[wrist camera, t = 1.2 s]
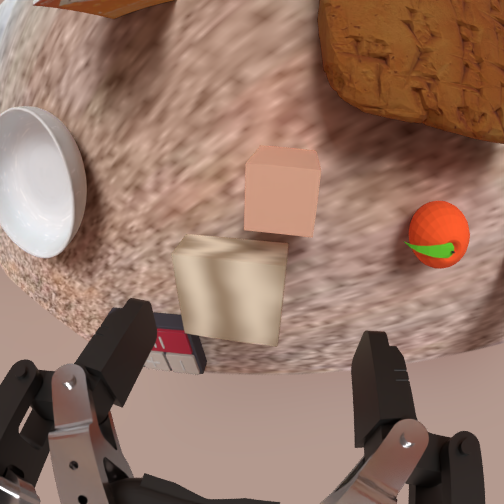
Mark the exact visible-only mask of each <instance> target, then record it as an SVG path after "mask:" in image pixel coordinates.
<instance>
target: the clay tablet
mask: <svg viewBox="0 0 504 504" xmlns="http://www.w3.org/2000/svg"><path fill="white" fill-rule="evenodd" d="M317 20H318V28H319V38H320V43H321V52H322V61H323V68H324V71H325V72H326V75H327V79H328V81H329V84H330V86H331V87H332V88H333V90H335V91H337V93H338V95H339V97H341V98H342V99H343V100H344V101H346V102H347V103H349V104H350V105H352V106H355V107H357V108H359V109H360V110H361V111H362V112H365V113H369V114H373V115H377V116H382V117H386V118H392V119H396V120H401V121H405V122H410V123H412V122H415V123H424V124H425V125H427V126H431V127H434V128H437V129H441V130H443V131H448V132H452V133H456V134H459V135H463V136H466V137H470V138H474V139H479V140H483V141H488V142H495V143H501V144H504V0H319V11H318V19H317Z"/></svg>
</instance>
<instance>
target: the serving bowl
mask: <svg viewBox="0 0 504 504" xmlns="http://www.w3.org/2000/svg"><path fill="white" fill-rule="evenodd" d="M86 197H87V184H86V175H85V169H84V164H83V160H82V157H81V154H80V151H79V149H78V146H77V144H76V142H75V140H74V138H73V136H72V135H71V133H70V132H69V130H68V129H67V127H66V126H65V125H64V124H63V123H62V122H61V121H60V120H59V119H58V118H57V117H56V116H54V115H53V114H51V113H50V112H48V111H46V110H43V109H41V108H37V107H31V106H21V107H13V108H10V109H8V110H6V111H4V112H3V113H2V114H0V225H1V226H2V228H3V230H4V231H5V232H6V234H7V235H8V236H9V237H10V239H11V240H12V241H13V242H14V243H15V244H16V245H17V246H19V247H20V248H21V249H22V250H24V251H25V252H27V253H29V254H31V255H33V256H35V257H39V258H51V257H55V256H57V255H59V254H60V253H61V252H62V251H63V250H64V249H65V248H66V247H67V246H68V244H69V243H70V242H71V241H72V239H73V238H74V236H75V235H76V233H77V231H78V229H79V227H80V225H81V222H82V219H83V216H84V211H85V206H86Z"/></svg>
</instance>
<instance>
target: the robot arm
mask: <svg viewBox="0 0 504 504" xmlns="http://www.w3.org/2000/svg"><path fill="white" fill-rule="evenodd" d="M156 339H157V326H156V322H155V318H154V314H153V310H152V306H151V303H150V302H149V301H144V300H139V299H135V298H130V299H129V300H128V301H127V303H126V304H125V305H124V307H123V308H122V309H119V308H118V309H116V310H115V311H114V312H112V313H111V314H109V315H108V316H107V317H106V319H105V320H104V322H103V323H102V324H101V327H99V329H98V330H97V331H96V334H95V335H94V336H93V337H92V338H91V340H90V341H89V343H88V344H87V346H86V347H85V349H84V350H83V352H82V353H81V355H80V356H79V357H78V359H77V360H76V362H75V363H74V364H66V365H63V366H61V367H60V368H58V369H57V370H56V371H44V370H38V369H37V367H36V366H35V365H34V363H33V362H32V361H30V360H20V361H18V362H17V363H15V364H14V365H13V366H12V368H11V369H10V370H9V372H8V374H7V375H6V377H5V379H4V380H3V382H2V383H1V385H0V504H40V498H39V496H38V495H37V494H36V491H35V486H36V483H37V481H38V478H39V476H40V473H41V470H42V468H43V466H44V463H45V461H46V458H47V456H48V454H49V451H50V454H51V460H52V466H53V471H54V476H55V481H56V485H57V490H58V494H59V498H60V502H61V504H280V502H271V501H262V500H254V499H247V498H243V499H242V498H241V499H206V498H203V497H201V496H199V495H197V494H195V493H193V492H191V491H189V490H187V489H185V488H184V487H182V486H180V485H178V484H176V483H174V482H170V481H167V480H164V479H161V478H157V477H154V476H152V475H149V474H144V476H143V478H134V476H133V474H132V471H131V469H130V466H129V464H128V462H127V461H126V459H125V457H124V456H123V454H122V451H121V448H120V444H119V441H118V437H117V434H116V430H115V427H114V422H113V419H112V414H111V411H110V409H111V407H112V405H113V404H115V405H117V406H120V407H123V406H124V404H125V402H126V400H127V398H128V396H129V394H130V392H131V390H132V388H133V386H134V384H135V382H136V380H137V378H138V376H139V374H140V372H141V370H142V368H143V366H144V364H145V362H146V360H147V358H148V356H149V354H150V352H151V350H152V348H153V347H154V345H155V342H156ZM351 375H352V389H353V406H354V429H355V430H354V432H355V448H362V447H364V456H363V457H362V459H361V460H360V461H359V462H358V464H357V465H356V466H355V467H354V469H353V470H352V471H351V472H350V473H349V474H348V476H347V477H346V478H345V479H344V480H343V481H342V482H341V483H340V484H339V486H338V487H337V488H336V489H335V490H334V491H333V492H332V493H331V494H330V495H329V496H328V497H327V498H325V499H324V500H323V501H322V502H321V503H320V504H397V499H396V497H397V495H398V493H399V491H400V490H401V489H402V487H403V486H404V484H405V483H406V484H409V504H485V488H484V475H483V465H482V457H481V451H480V444H479V441H478V439H477V438H476V436H474V435H473V434H472V433H470V432H468V431H461V432H459V433H457V434H455V435H454V436H453V437H452V438H450V437H445V436H440V435H436V434H432V433H429V432H428V431H427V429H426V428H425V426H424V425H423V424H422V423H420V422H419V421H418V420H417V418H416V413H415V408H414V403H413V397H412V392H411V387H410V382H409V381H408V380H409V378H408V373H407V372H406V364H405V360H404V357H403V355H402V354H401V352H400V351H399V350H398V348H397V347H396V346H389V343H388V338H387V335H386V333H385V332H381V331H365V332H364V333H363V336H362V338H361V340H360V343H359V345H358V348H357V350H356V352H355V355H354V357H353V361H352V367H351ZM29 406H31V407H32V411H31V413H30V415H29V417H28V419H27V421H26V423H25V424H24V427H23V428H22V431H21V432H20V434H19V425H20V423H21V421H22V419H23V418H24V416H25V414H26V412H27V410H28V408H29Z"/></svg>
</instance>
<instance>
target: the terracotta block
mask: <svg viewBox="0 0 504 504" xmlns="http://www.w3.org/2000/svg"><path fill="white" fill-rule="evenodd" d="M320 177H321V168H320V164H319V159H318V156H317V152H316V151H315V150H307V149H297V148H287V147H275V146H261V145H260V147H259V148H258V149H257V150H256V152H255V153H254V154H253V155H252V156H251V158H250V159H249V160H248V161H247V163H246V174H245V213H244V230H248V231H258V232H267V233H277V234H286V235H295V236H304V237H313V230H314V223H315V216H316V209H317V201H318V193H319V185H320Z"/></svg>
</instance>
